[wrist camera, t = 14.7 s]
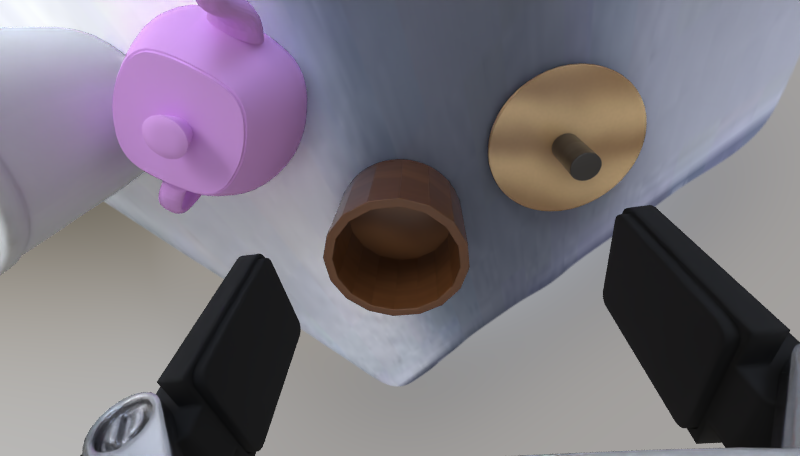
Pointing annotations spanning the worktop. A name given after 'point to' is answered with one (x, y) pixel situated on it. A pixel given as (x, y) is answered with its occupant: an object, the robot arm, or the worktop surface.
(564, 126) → the lid
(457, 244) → the brown wooden cylinder
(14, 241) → the utensil holder
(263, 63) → the teapot
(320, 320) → the worktop surface
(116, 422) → the robot arm
